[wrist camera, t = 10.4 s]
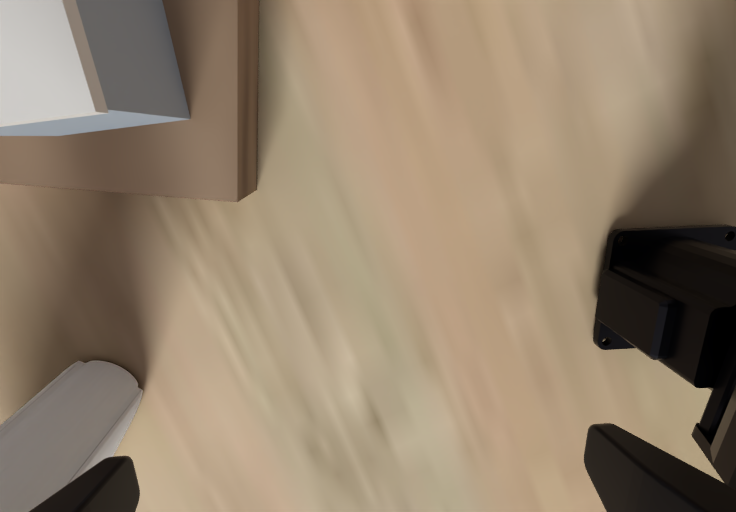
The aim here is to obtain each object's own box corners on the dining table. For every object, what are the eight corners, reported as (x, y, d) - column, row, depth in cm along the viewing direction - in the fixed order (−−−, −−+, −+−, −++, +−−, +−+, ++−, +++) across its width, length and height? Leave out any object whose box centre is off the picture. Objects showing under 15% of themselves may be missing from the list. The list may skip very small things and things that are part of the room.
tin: (156, -36, 13) (10, -173, 7) (194, 121, 14) (95, 112, 9) (4, -18, 13) (-269, -143, 7) (57, 139, 14) (-137, 141, 8)
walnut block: (261, -32, 16) (237, -83, 13) (258, 188, 19) (237, 202, 15) (27, -62, 16) (-74, -126, 12) (55, 171, 18) (-20, 181, 14)
